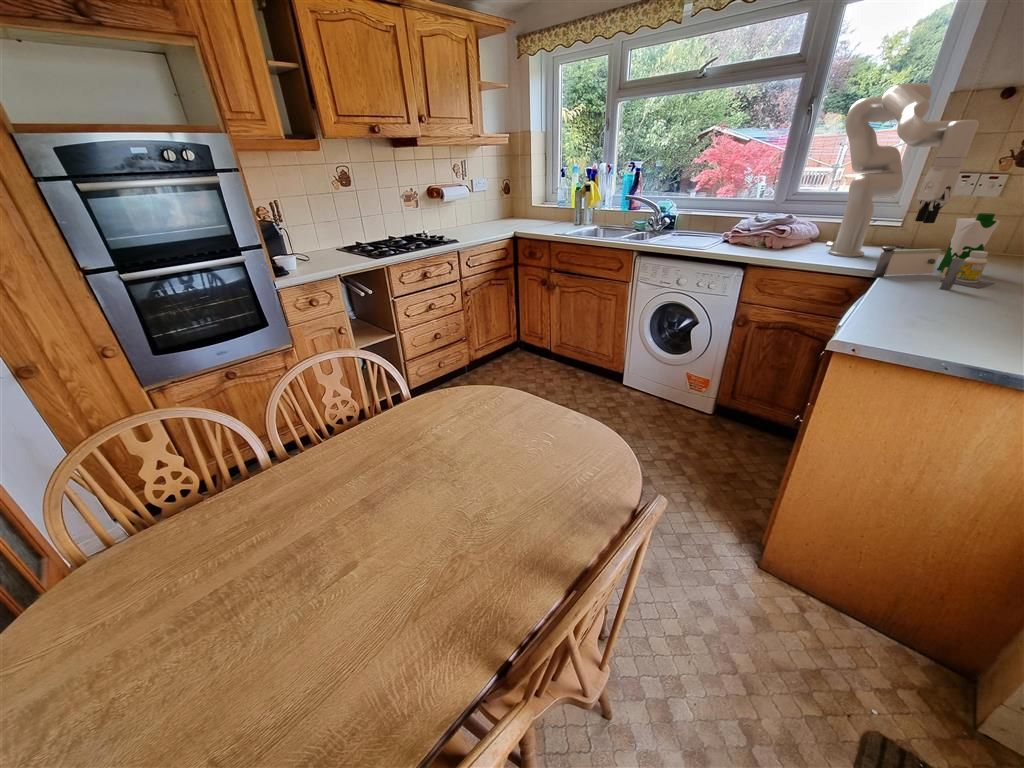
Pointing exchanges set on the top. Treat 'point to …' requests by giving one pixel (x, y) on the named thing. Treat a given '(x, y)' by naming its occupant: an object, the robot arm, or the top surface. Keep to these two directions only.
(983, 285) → the mat
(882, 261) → the hinge post
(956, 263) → the post
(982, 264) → the supplement bottle
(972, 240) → the milk carton
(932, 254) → the gate
